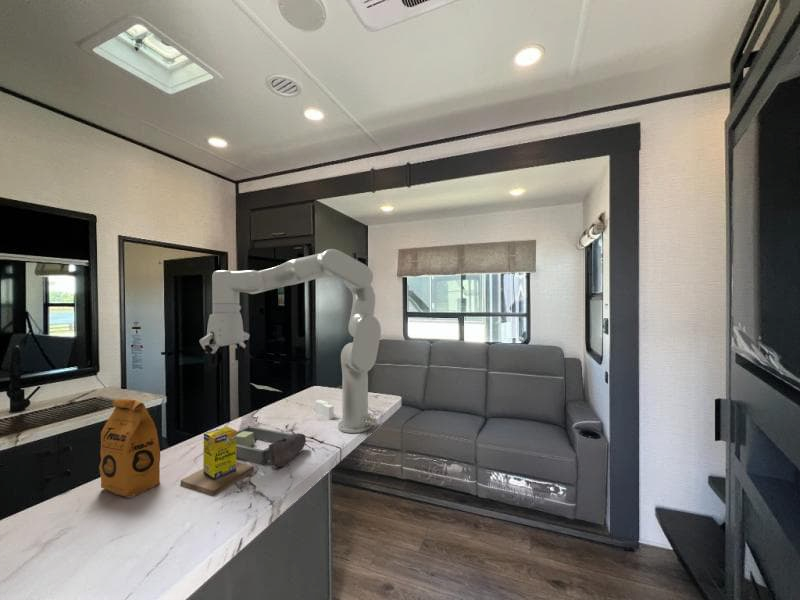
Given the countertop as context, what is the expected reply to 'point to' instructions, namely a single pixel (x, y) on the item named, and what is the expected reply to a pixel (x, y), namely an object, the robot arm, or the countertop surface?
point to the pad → (215, 486)
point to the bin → (258, 454)
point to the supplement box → (219, 452)
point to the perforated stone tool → (286, 449)
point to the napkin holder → (324, 409)
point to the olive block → (244, 438)
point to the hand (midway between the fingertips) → (226, 363)
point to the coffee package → (129, 450)
